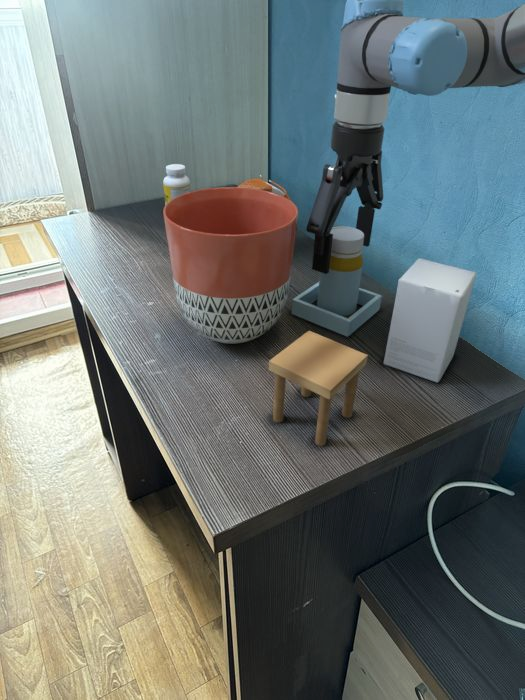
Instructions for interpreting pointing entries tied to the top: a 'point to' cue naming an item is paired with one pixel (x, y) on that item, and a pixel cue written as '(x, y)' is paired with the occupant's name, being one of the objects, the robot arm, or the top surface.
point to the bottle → (342, 272)
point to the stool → (317, 375)
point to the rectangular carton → (428, 318)
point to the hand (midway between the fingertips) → (341, 257)
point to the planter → (231, 259)
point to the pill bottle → (175, 182)
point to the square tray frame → (331, 320)
